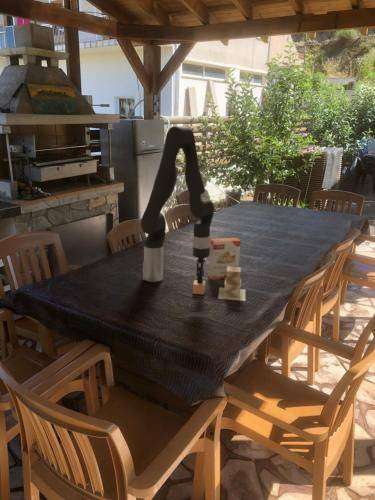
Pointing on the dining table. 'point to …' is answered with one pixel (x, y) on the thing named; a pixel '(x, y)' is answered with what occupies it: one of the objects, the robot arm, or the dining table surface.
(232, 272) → the oak top block
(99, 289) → the dining table surface
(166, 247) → the dining table surface
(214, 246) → the cracker box
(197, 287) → the terracotta block
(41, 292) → the dining table surface
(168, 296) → the dining table surface
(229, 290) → the birch base block
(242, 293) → the beige flat square slab
